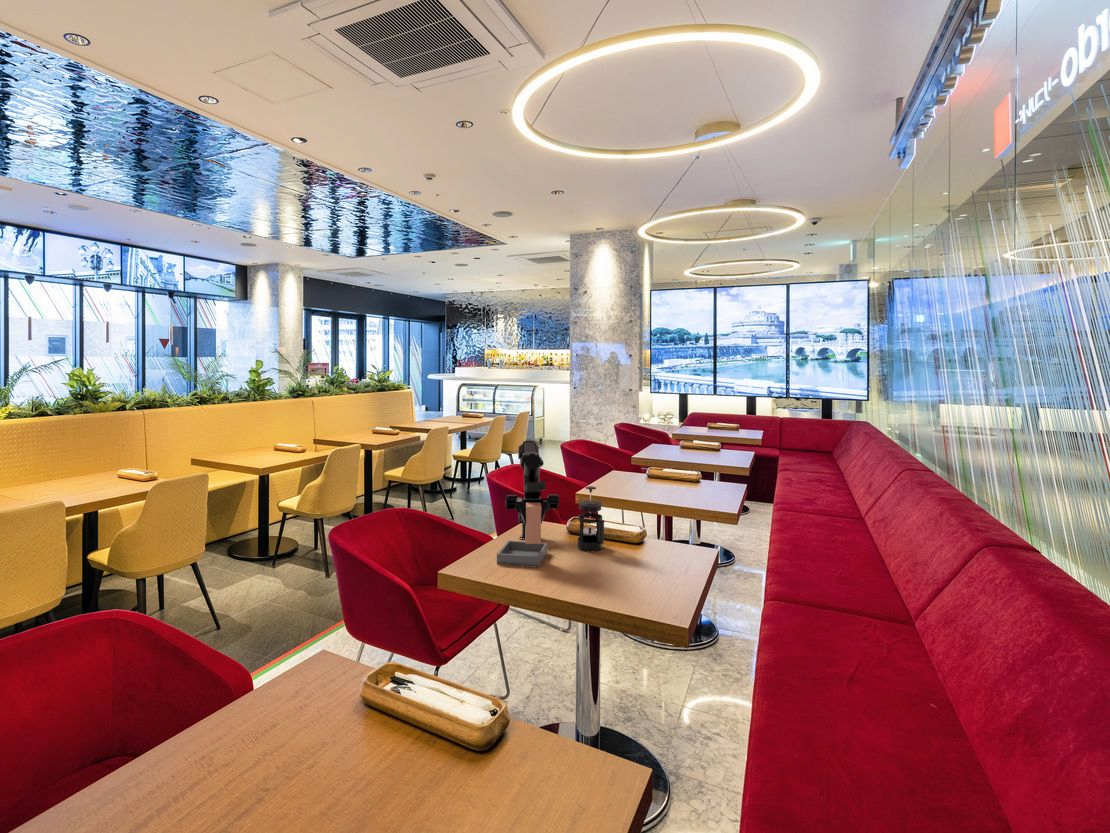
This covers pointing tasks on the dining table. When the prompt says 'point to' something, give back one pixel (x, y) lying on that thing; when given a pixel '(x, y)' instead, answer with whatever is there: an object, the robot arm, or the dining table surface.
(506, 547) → the tray
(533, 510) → the terracotta block
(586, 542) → the french press
